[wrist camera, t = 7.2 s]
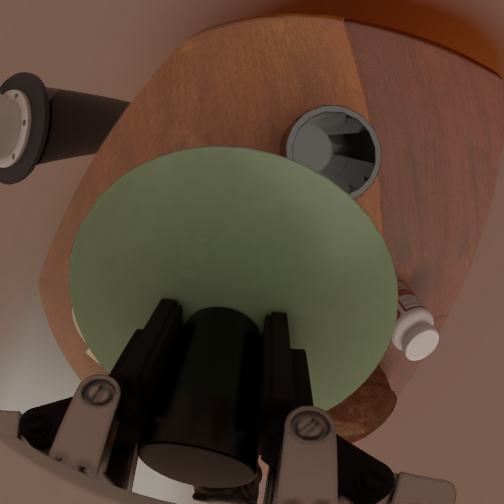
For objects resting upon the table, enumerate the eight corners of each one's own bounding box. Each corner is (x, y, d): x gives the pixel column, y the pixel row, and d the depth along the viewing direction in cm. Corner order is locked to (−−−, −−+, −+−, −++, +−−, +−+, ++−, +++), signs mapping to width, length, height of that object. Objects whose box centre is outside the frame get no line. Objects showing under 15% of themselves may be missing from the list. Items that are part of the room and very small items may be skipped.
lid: (49, 301, 12) (-27, 380, 6) (221, 66, 8) (143, -47, 2) (234, 437, 15) (223, 528, 9) (433, 316, 11) (503, 420, 5)
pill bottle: (382, 323, 38) (409, 373, 28) (364, 297, 37) (391, 348, 27) (414, 298, 37) (449, 343, 26) (399, 271, 35) (436, 315, 25)
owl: (196, 404, 47) (175, 494, 29) (262, 407, 47) (260, 502, 28) (206, 435, 52) (192, 512, 33) (263, 438, 51) (261, 517, 33)
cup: (267, 131, 30) (268, 127, 21) (333, 105, 28) (358, 93, 20) (298, 197, 32) (310, 217, 24) (361, 170, 31) (393, 181, 22)
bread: (344, 406, 46) (355, 457, 35) (205, 362, 43) (190, 422, 31) (392, 359, 41) (415, 412, 30) (242, 298, 38) (234, 362, 26)
